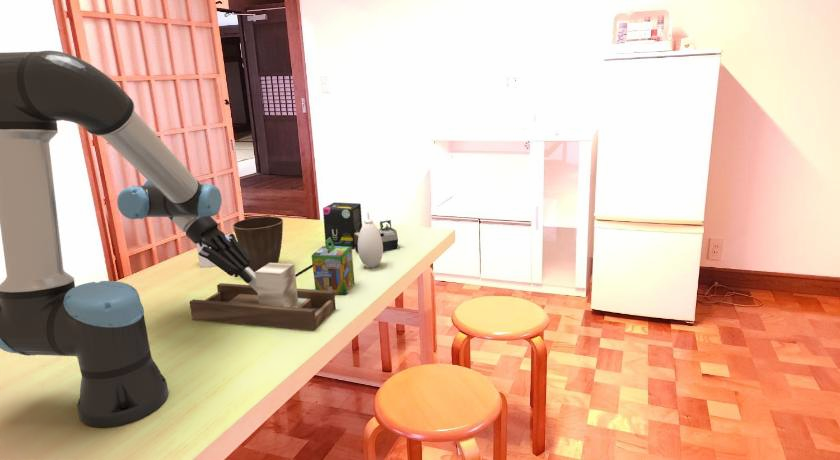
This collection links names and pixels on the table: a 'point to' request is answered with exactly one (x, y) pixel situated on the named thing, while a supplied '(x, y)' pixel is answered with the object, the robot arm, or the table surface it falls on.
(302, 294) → the tray
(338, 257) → the chalk box
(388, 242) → the camera
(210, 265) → the candle
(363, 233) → the grey rubber bulb
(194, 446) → the table surface
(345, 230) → the tampon box
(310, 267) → the pen
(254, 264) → the plant pot
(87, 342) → the robot arm
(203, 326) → the table surface
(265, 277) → the cream block
